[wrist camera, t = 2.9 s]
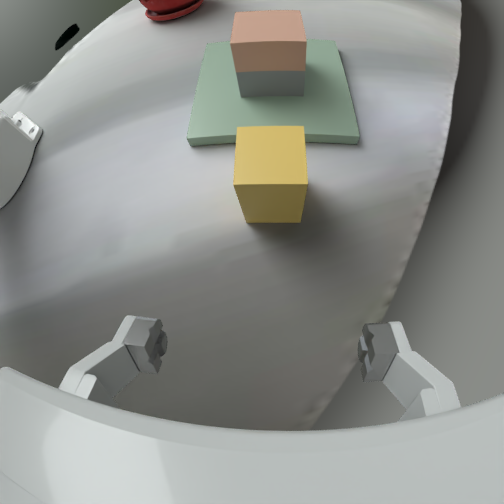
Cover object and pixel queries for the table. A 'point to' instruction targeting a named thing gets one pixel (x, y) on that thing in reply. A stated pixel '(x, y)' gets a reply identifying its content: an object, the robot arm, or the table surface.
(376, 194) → the table surface
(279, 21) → the baseplate tower
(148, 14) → the plant pot
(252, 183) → the mustard brick
